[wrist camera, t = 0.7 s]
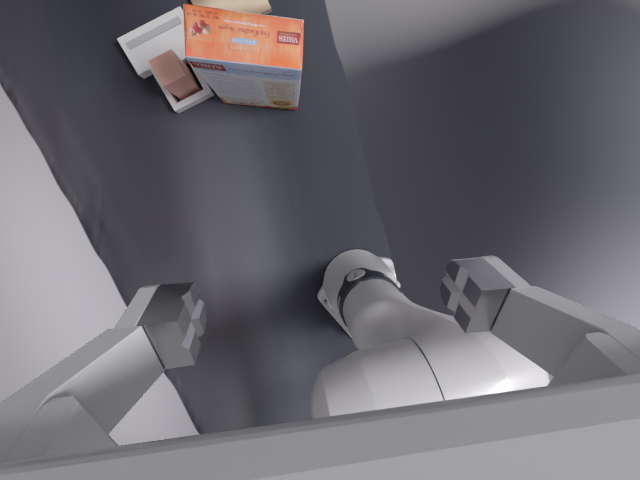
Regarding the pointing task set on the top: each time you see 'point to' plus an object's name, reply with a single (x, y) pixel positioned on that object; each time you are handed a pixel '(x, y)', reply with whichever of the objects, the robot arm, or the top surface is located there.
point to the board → (237, 5)
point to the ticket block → (174, 75)
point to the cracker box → (246, 55)
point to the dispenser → (157, 41)
